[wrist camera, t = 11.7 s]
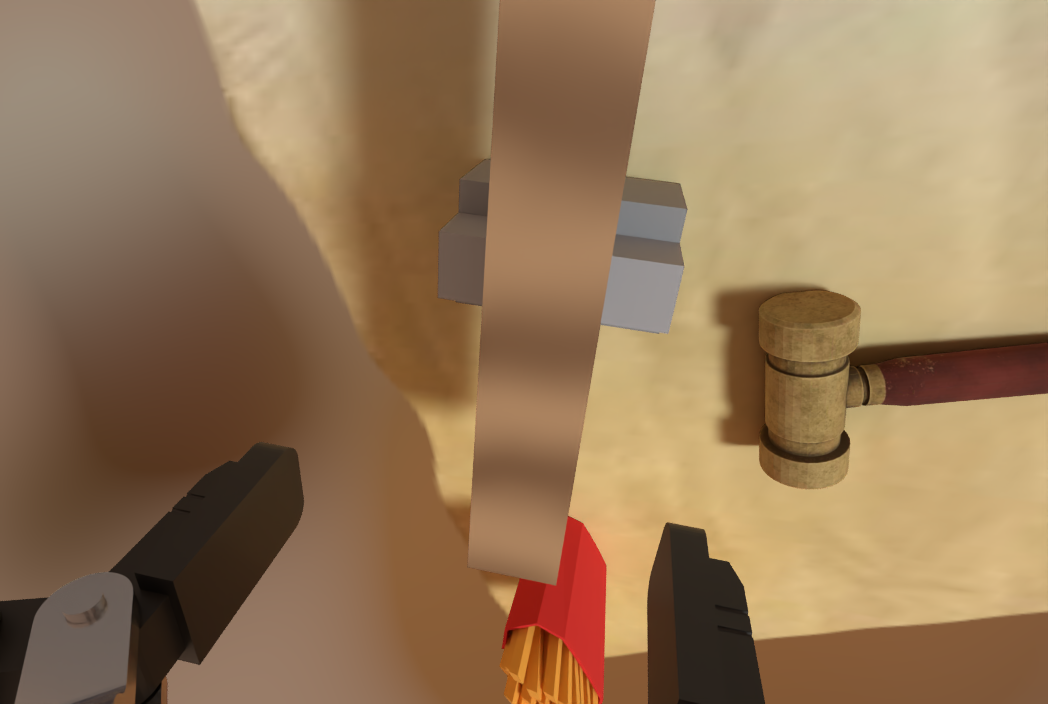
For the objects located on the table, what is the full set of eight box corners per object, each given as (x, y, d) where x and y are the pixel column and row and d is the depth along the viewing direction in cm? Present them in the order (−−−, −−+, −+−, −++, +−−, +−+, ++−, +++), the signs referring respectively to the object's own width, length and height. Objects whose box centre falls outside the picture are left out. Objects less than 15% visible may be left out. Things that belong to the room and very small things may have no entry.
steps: (485, 158, 30) (439, 194, 23) (680, 183, 29) (692, 229, 22) (479, 267, 33) (437, 328, 26) (656, 293, 32) (660, 364, 25)
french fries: (518, 513, 41) (473, 690, 30) (572, 500, 40) (546, 681, 29) (570, 599, 45) (547, 787, 33) (622, 589, 43) (616, 783, 32)
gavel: (1315, 268, 24) (1228, 464, 28) (1209, 236, 28) (1148, 411, 32) (772, 331, 27) (771, 494, 32) (749, 294, 31) (751, 444, 36)
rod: (537, -77, 18) (506, -113, 14) (664, -67, 18) (672, -100, 14) (492, 491, 30) (467, 567, 26) (568, 505, 30) (555, 585, 25)
